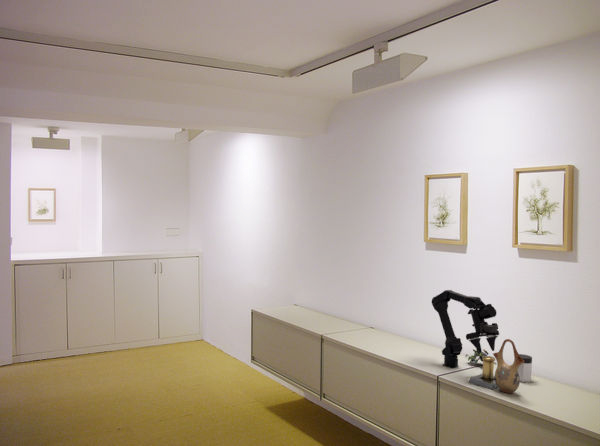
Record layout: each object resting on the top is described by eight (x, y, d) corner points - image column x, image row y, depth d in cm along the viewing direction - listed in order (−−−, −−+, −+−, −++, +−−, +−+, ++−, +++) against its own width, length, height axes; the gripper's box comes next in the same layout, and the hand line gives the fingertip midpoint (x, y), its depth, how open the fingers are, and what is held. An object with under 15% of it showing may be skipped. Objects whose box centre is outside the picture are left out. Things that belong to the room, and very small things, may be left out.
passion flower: (484, 375, 293) (497, 360, 288) (470, 373, 289) (482, 358, 283) (473, 359, 302) (486, 344, 297) (460, 357, 297) (472, 342, 292)
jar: (534, 380, 269) (536, 357, 268) (526, 383, 264) (528, 359, 263) (518, 375, 276) (519, 353, 275) (510, 378, 270) (511, 355, 270)
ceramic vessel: (485, 387, 254) (488, 336, 253) (497, 385, 259) (500, 334, 258) (515, 398, 240) (518, 344, 240) (527, 395, 245) (530, 342, 244)
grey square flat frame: (469, 382, 261) (470, 377, 261) (482, 378, 269) (482, 373, 269) (492, 389, 252) (492, 384, 252) (504, 384, 260) (505, 379, 260)
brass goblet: (478, 383, 261) (479, 357, 260) (484, 381, 265) (486, 355, 264) (489, 386, 256) (491, 360, 256) (496, 384, 260) (497, 358, 260)
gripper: (477, 319, 261) (486, 351, 256) (503, 316, 270) (512, 347, 266) (461, 323, 270) (469, 354, 265) (486, 321, 279) (495, 350, 274)
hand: (487, 351), depth 267 cm, fingers open, 9 cm apart
